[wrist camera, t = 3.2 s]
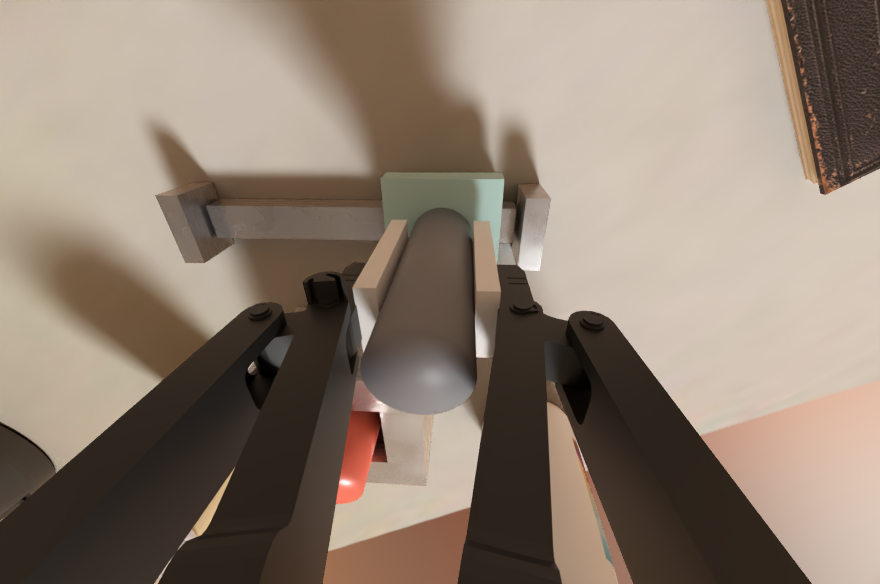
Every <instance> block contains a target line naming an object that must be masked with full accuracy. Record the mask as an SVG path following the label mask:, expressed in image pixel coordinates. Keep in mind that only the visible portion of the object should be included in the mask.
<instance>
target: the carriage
mask: <svg viewBox="0 0 880 584" xmlns="http://www.w3.org/2000/svg"><path fill="white" fill-rule="evenodd" d="M380 182H381V192H382V202H383V212H384V222H385V231H386V229H387V227H388V225H389V224H390V222H391V220H407V222H408V238H409V239H408V242H407V244H406V247H405V249H404V252H403V254H402V257H401V259H400V262H399V264H398V267H397V269H396V272H395V274H394V277H393V280H392V282H391V285H390V287H389V290H388V292H387V295H386V297H385V300H384V302H383V305H382V307H381V310H380V312H379V315H378V317H377V320H376V322H375V325H374V328H373V330H372V333H371V335H370V338H369V340H368V343H367V345H366V348H365V350H364V353H363V355H362V358H361V363H360V372H361V376H362V379H363V382H364V384H365V385H366V387H367V389H368V390H369V391H370V392H371V394H373V395H374V396H375V397H376V398H377V399H378V400H380V401H381V402H382V403H384V404H386V405H387V406H389V407H391V408H394V409H396V410H399V411H402V412H406V413H411V414H419V415H430V414H438V413H443V412H446V411H449V410H451V409H454V408H456V407H457V406H459V405H461V404H462V403H463V402H465V401H466V400H467V399H468V398H469V396H470V395H471V394H472V392H473V390H474V388H475V385H476V381H477V365H476V333H475V306H474V273H473V221H490V227H491V234H492V240H493V246H494V252H495V258H496V264H497V261H498V249H499V238H500V226H501V214H502V202H503V191H504V177H503V174H502V173H468V172H386V173H385V174H384V175H383V176H382V177H381V178H380Z"/></svg>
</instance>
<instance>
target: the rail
mask: <svg viewBox="0 0 880 584" xmlns="http://www.w3.org/2000/svg"><path fill="white" fill-rule="evenodd" d="M155 196H156V198H157V200H158V202H159V205H160V207H161V209H162V211H163V214H164V216H165V218H166V220H167V222H168V225H169V227H170V229H171V231H172V234H173V236H174V238H175V240H176V243H177V245H178V247H179V249H180V252H181V254H182V256H183V258H184V261H185V263H205V262H207V261H208V260H210V259H211V258H213V257H215V256H216V255H218V254H219V253H221V252H222V251H224V250H225V249H227V248H228V247H230V246H231V245H233V244H234V241H233V238H257V239H315V240H374V241H380V239H381V237H382V236H383V234H384V232H385V222H384V212H383V202H382V200H311V199H220V200H219V198H218V195H217V192H216V189H215V187H214V184H213V182H193V183H190V184H188V185H185V186H182V187H179V188H176V189H173V190H170V191H167V192H164V193H161V194H158V195H155ZM550 201H551V198H550V197H549V196H548V194H547V193H546V192H545V190H544V189H543V188H542V186H541V185H540V184H518V193H517V203H516V207H515V204H514V202H513V201H503V202H502V214H501V226H500V238H499V243H512V252H513V255H514V259H515V262H516V265H518V266H519V267H520V268H521V269H522V270H537V271H539V270H540V264H541V258H542V251H543V245H544V239H545V232H546V226H547V220H548V214H549V207H550Z"/></svg>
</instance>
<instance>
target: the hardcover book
mask: <svg viewBox="0 0 880 584" xmlns="http://www.w3.org/2000/svg"><path fill="white" fill-rule="evenodd" d="M766 4H767V8H768V13H769V17H770V22H771V26H772V31H773V35H774V40H775V45H776V49H777V54H778V58H779V63H780V67H781V72H782V76H783V81H784V85H785V90H786V94H787V99H788V103H789V108H790V112H791V117H792V121H793V126H794V130H795V135H796V140H797V144H798V149H799V153H800V158H801V162H802V167H803V171H804V176H805V179H809V180H811V181H812V182H813V183H817V182H818V184H819V188H820V193H821V194H824V195H826V194H828V193H830V192H832V191H834V190H836V189H838V188H840V187H842V186H844V185H846V184H849V183H851V182H853V181H855V180H857V179H859V178H861V177H863V176H865V175H867V174H869V173H871V172H873V171H875V170H877V169H880V0H766Z"/></svg>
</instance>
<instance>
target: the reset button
mask: <svg viewBox="0 0 880 584" xmlns="http://www.w3.org/2000/svg"><path fill="white" fill-rule="evenodd" d="M380 426H381V417H380V412H370V411H351V414H350V420H349V426H348V432H347V438H346V444H345V450H344V456H343V462H342V468H341V474H340V481H339V487H338V493H337V499H336V504H343V503H349V502H353V501H355V500H357V499H358V498H360V497H361V495H362V494H363V491H364V487H365V483H366V479H367V476H368V472H369V468H370V464H371V460H372V456H373V452H374V449H375V445H376V441H377V437H378V433H379V429H380Z"/></svg>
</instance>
